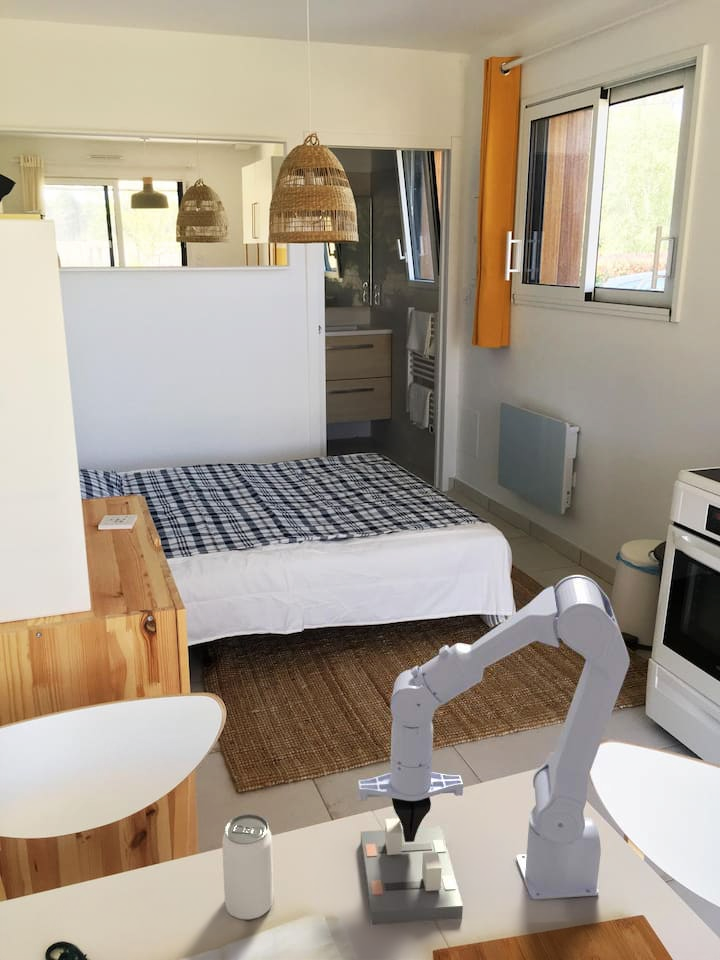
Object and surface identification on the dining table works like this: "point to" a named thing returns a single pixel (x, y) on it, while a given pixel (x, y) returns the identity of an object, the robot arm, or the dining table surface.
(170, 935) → the dining table surface
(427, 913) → the panel
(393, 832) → the block
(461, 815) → the dining table surface
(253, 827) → the can
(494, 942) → the dining table surface
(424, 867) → the block
